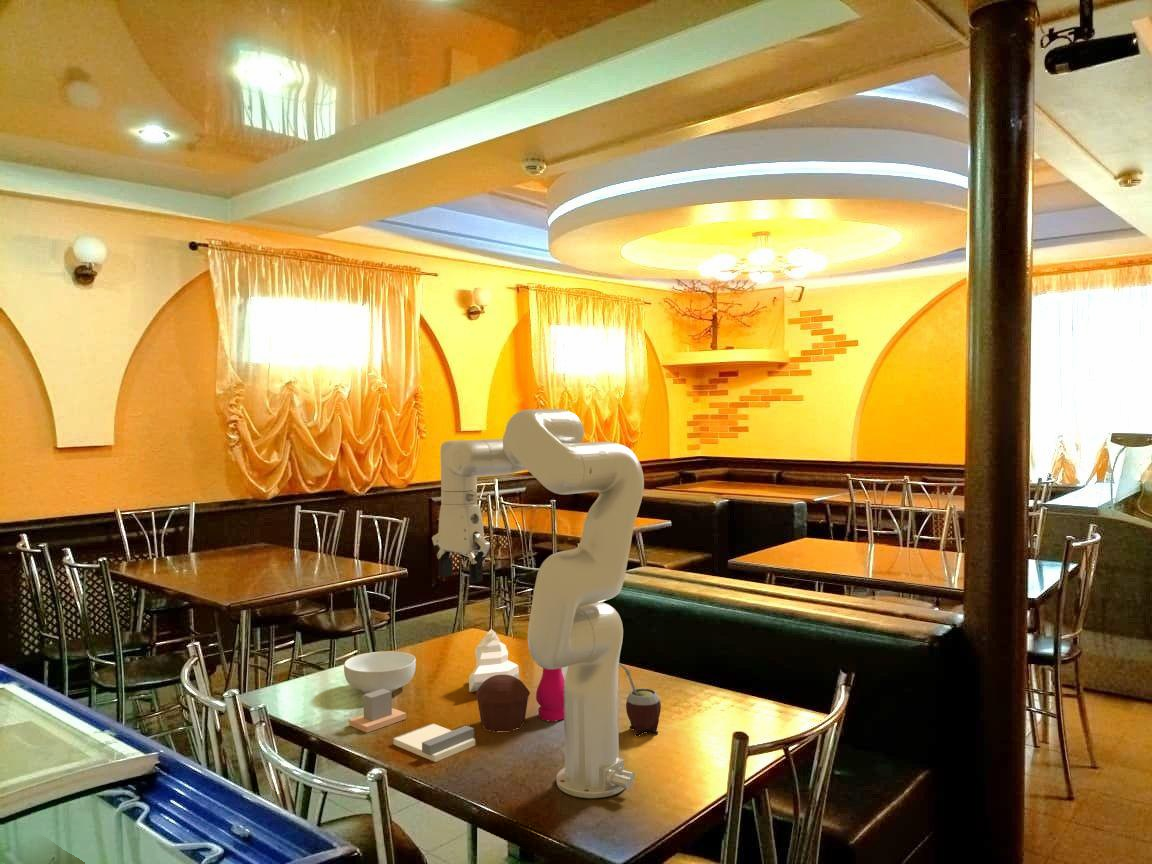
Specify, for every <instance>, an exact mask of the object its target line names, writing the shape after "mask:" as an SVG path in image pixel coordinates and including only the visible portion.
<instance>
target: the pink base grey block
mask: <svg viewBox="0 0 1152 864" xmlns="http://www.w3.org/2000/svg"><path fill="white" fill-rule="evenodd" d="M392 695H393V694H392V692H391V691H389V690H386V689H380V690H377V691H373V692H370V693H367V694H366V693H364V694H363V695H362V697H363V698H362V700H363V704H362V705H363V714H362V715H359V716H357V717H353V718H350V719H348V726H350V727H352V728H354V729H357V730H358V731H362V732H364V733H371V732H374V731H375V730H376V731H377V730H378V729H382V728H384V727H387V726H390V725H393V724H395V723H398V722H401V721H403V720H406V719H407V712H404V711H401V710H399V709H396V708H393V705H392V704H393V702H392V701H393V700H392Z"/></svg>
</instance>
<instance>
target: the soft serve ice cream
mask: <svg viewBox="0 0 1152 864" xmlns="http://www.w3.org/2000/svg"><path fill="white" fill-rule="evenodd" d="M474 654H475V659H476V666H475V668H474V670H473V671H472V672H471V674H470V675H469V677H468V686H469V687H468V690H469V691H470V692H471V693H475V692H477V691H478V689H479V687H480V686H481V685H482V683H483V682H484V681H485V680H487V679H488V678H490V677H492V676H495V675H511V676H514V677H516V678H517V679H519V680H520V671H519V664H517V663H515V662H512V661H510V660H509V659H508V657H509V656H508V655H509V650H508V649H507V646H506V644H504V643H503V642H501V641H500V638H499V637H498V636H497V632H495V631H494V630H493V629H492V628H490V630H489V631H488V632H487V633H486V635H484V636H483V637H482V640H480V642H479V643H478V644H477V646H476V647H475V650H474ZM469 691H468V692H469ZM474 691H475V692H474Z"/></svg>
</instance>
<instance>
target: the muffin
mask: <svg viewBox="0 0 1152 864" xmlns="http://www.w3.org/2000/svg"><path fill="white" fill-rule="evenodd" d="M475 692H476V693H474V695H475V697H476V699H477V705H478V711H479V718H480V724H481V726H482V727H483V726H484V727H483V729H484V728H485V729H486V730H485V729H484V730H485V731H487V730H491V731H490V732H492V731H495V732H497V731H511V730H513V729H516V728H520V727H521V728H522V726H523V725H524V724H525V721H526V713H527V707H528V700H529V696H530V695H531V692H530V690H529V689H528V688H527V687H526V685H525V683H524V682H523V681H522V680H521V679H520V678H519V679H517V678H516V677H514V676H511V675H495V676H492V677H490V678H488V679H487V680H485V681H484V682H483V683H482V685H481V686H480V687H479V689H478V691H475ZM523 723H524V724H523ZM522 724H523V725H522ZM521 725H522V726H521ZM521 728H520V729H521ZM495 732H494V733H495ZM511 732H512V731H511Z"/></svg>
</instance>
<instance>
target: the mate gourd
mask: <svg viewBox="0 0 1152 864" xmlns="http://www.w3.org/2000/svg"><path fill="white" fill-rule="evenodd" d="M619 667H621V668H623V670H624V672H625V673H626V676H628V680H629V683H630V685H631V688H632V690H630V692H629V694H628V696H627V698H626V703H625V709H626V710H625V711H626V714H627V717H628V719H629V722H630V726H629V729H630V730H631V729H634V730H633V731H635V730H636V731H635V732H636V733H634V736H635V735H636V736H639V735H640V736H642V735H643V734H645V733H644V732H647V733H646V734H649V733H651V734H650V735H653V734H656V735H655V736H657V735H658V734H659V731H657V730H658V727H659V722H660V715H661V709H662V706H661V698H660V696H659V695H658V694H657V692H656V691H655V690H653V689H650V688H636V686H635V684H634V681H633V678H632V676H631V672H630V670H629V669H628V667H626V666H625V665H624V664H622V663H620V662H619ZM642 733H643V734H642ZM641 734H642V735H641ZM636 736H635V737H636ZM640 736H639V737H640Z"/></svg>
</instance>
